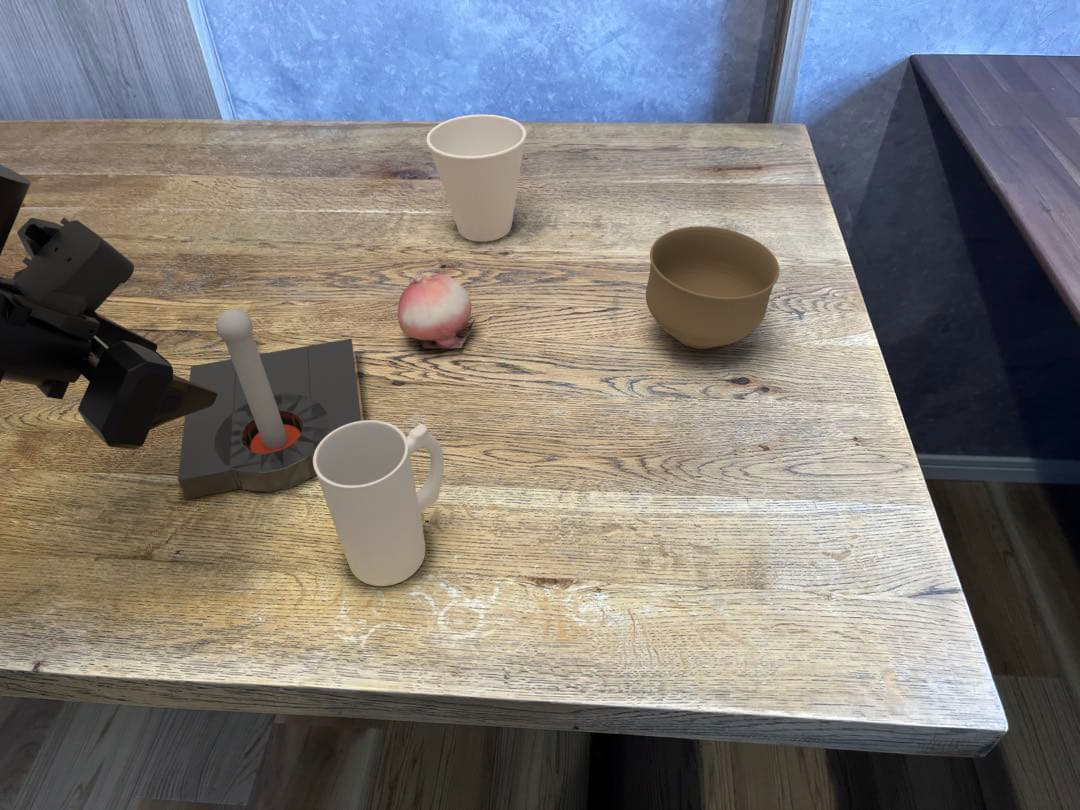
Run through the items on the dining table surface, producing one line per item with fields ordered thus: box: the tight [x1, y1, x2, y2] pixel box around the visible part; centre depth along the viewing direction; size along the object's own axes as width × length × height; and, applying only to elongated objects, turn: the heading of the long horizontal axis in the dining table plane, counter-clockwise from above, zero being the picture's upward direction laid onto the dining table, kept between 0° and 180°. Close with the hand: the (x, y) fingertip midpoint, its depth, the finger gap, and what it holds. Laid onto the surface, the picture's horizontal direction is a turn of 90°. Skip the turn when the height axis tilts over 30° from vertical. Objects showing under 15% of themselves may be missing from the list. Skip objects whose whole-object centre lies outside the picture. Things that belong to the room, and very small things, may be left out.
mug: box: [313, 419, 445, 587], centre depth 63 cm, size 10×7×12 cm, turn 133°
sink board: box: [177, 338, 365, 500], centre depth 77 cm, size 16×17×2 cm
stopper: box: [215, 308, 301, 453], centre depth 70 cm, size 5×5×16 cm
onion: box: [397, 272, 477, 349], centre depth 85 cm, size 8×8×7 cm
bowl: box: [645, 225, 781, 350], centre depth 83 cm, size 13×13×10 cm
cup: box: [425, 113, 527, 243], centre depth 100 cm, size 12×12×12 cm
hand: (183, 373), depth 64 cm, fingers open, 9 cm apart
